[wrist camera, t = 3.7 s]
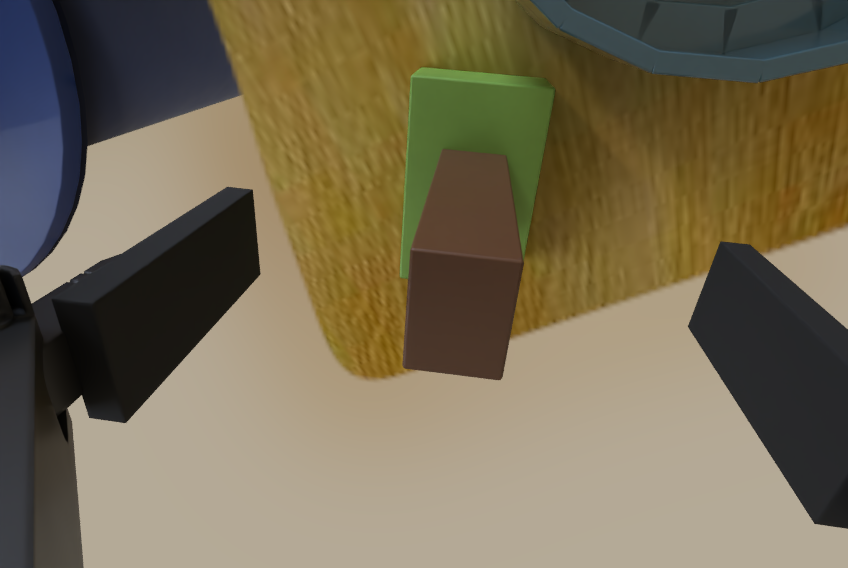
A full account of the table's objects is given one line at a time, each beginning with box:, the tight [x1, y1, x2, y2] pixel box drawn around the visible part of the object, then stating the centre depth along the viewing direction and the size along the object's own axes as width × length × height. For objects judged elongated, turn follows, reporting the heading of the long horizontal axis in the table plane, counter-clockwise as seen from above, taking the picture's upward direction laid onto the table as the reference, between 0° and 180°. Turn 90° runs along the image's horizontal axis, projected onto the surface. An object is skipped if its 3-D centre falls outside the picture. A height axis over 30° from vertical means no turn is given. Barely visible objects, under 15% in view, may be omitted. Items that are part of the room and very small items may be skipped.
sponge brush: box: [400, 67, 555, 380], centre depth 16 cm, size 8×5×12 cm, turn 176°
